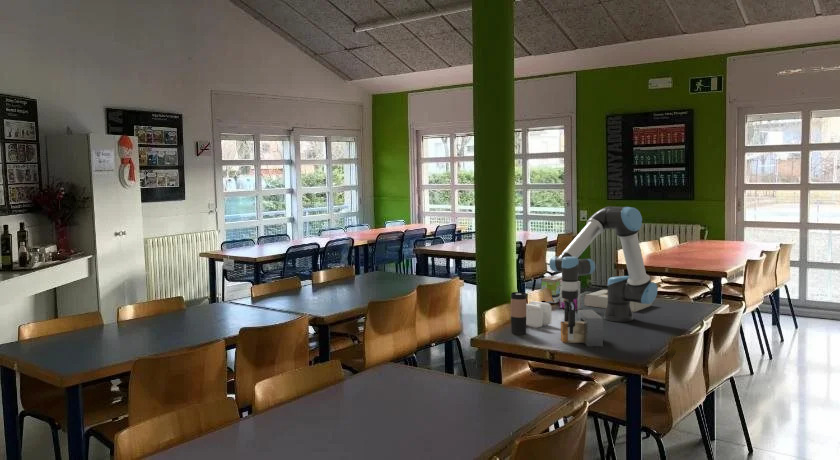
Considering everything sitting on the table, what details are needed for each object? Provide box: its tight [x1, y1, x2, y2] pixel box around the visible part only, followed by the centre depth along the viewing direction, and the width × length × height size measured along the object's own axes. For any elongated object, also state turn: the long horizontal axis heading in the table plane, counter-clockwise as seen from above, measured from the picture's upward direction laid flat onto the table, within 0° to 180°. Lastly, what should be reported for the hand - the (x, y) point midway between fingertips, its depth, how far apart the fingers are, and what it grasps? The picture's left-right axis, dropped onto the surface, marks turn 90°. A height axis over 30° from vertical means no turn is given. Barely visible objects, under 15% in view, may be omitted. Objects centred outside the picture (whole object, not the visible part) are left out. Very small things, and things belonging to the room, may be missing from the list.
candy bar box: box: [558, 280, 581, 311], centre depth 403 cm, size 11×5×16 cm, turn 58°
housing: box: [577, 309, 604, 347], centre depth 325 cm, size 7×20×13 cm, turn 0°
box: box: [583, 289, 653, 313], centre depth 410 cm, size 23×8×32 cm
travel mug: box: [510, 291, 527, 336], centre depth 343 cm, size 8×8×20 cm
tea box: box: [540, 275, 562, 304], centre depth 428 cm, size 15×10×15 cm
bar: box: [560, 320, 584, 344], centre depth 326 cm, size 18×5×9 cm, turn 89°
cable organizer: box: [526, 300, 553, 329], centre depth 360 cm, size 15×11×12 cm
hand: (569, 338), depth 326 cm, fingers closed on bar, 5 cm apart
